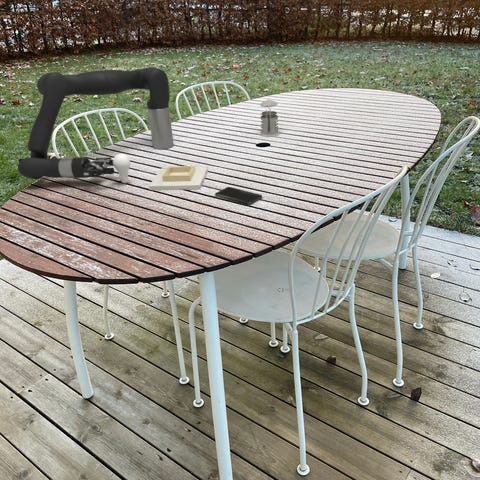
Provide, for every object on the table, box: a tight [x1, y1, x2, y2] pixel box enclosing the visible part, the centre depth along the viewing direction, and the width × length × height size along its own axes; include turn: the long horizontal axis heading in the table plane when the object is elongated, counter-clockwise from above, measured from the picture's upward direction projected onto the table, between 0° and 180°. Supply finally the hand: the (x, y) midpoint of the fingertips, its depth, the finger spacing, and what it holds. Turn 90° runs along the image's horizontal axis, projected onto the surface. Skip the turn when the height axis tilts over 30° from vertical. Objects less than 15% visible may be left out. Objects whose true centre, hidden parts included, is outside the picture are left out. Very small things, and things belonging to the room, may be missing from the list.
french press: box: [258, 77, 281, 138], centre depth 212 cm, size 10×12×25 cm
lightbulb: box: [112, 153, 131, 184], centre depth 170 cm, size 6×6×11 cm
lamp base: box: [148, 165, 209, 191], centre depth 172 cm, size 18×18×4 cm
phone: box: [214, 186, 263, 206], centre depth 156 cm, size 8×1×15 cm
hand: (117, 166), depth 170 cm, fingers open, 8 cm apart
